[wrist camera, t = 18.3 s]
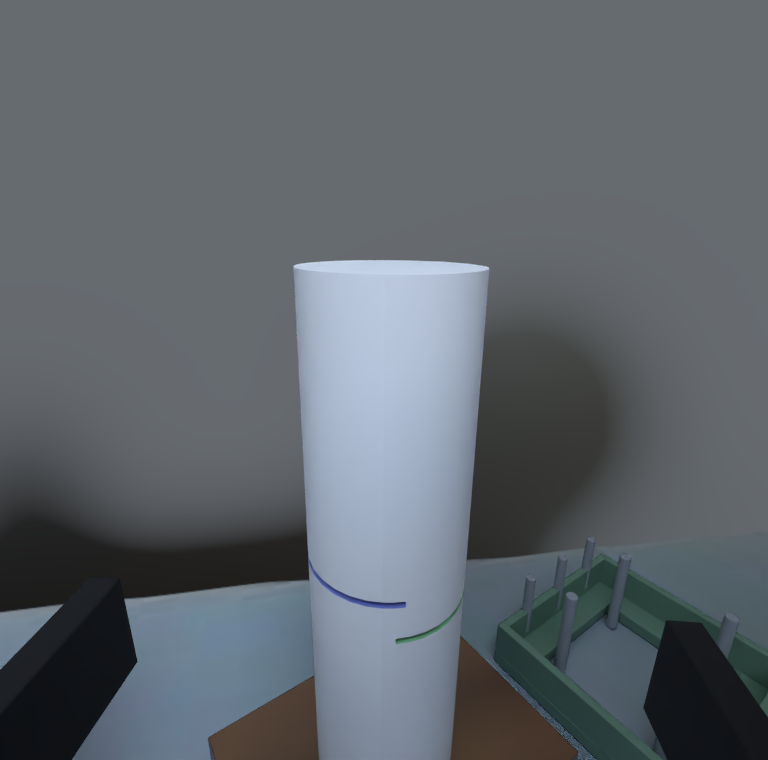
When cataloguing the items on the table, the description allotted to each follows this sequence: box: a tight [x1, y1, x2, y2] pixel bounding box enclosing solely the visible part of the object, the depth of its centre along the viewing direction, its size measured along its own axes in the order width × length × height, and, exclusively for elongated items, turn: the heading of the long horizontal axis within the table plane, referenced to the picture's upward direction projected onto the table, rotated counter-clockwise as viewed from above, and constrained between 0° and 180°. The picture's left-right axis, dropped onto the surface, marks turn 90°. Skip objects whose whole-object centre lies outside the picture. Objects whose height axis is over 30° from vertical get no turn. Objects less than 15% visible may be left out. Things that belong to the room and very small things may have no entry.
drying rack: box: [494, 537, 768, 760], centre depth 32 cm, size 14×14×7 cm
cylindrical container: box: [293, 260, 489, 760], centre depth 21 cm, size 7×7×25 cm
